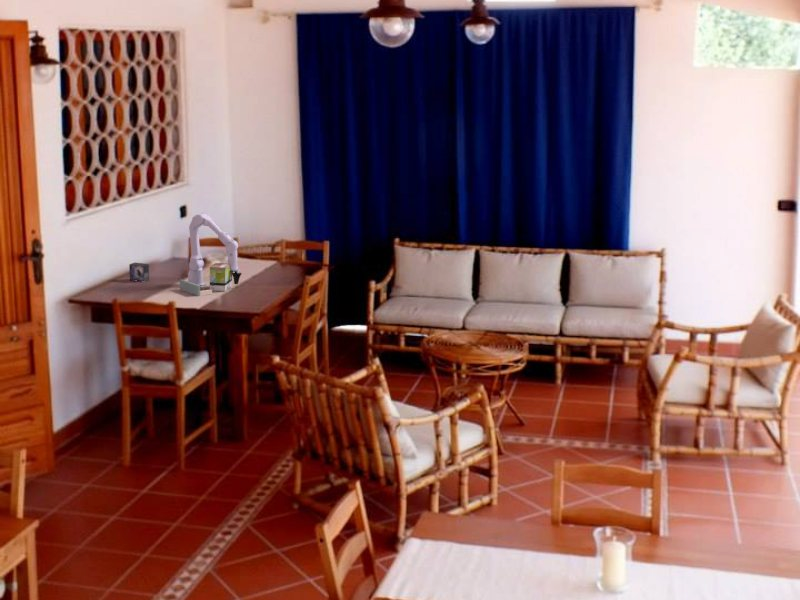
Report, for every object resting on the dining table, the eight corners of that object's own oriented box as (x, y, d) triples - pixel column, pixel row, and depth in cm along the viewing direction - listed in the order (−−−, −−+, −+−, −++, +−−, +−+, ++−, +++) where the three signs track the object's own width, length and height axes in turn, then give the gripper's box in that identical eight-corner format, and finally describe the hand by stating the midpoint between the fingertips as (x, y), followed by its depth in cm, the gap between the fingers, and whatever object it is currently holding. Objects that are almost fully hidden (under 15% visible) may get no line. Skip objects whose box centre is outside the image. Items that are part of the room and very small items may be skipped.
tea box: (225, 291, 693) (225, 267, 690) (209, 291, 694) (208, 266, 691) (232, 286, 707) (231, 262, 704) (215, 286, 708) (215, 262, 705)
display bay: (179, 289, 697) (179, 279, 696) (193, 287, 703) (193, 277, 701) (198, 296, 680) (197, 285, 679) (212, 294, 685) (211, 284, 684)
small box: (129, 280, 720) (128, 264, 718) (135, 278, 726) (134, 262, 724) (143, 282, 716) (143, 265, 714) (149, 280, 722) (149, 263, 720)
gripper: (244, 262, 700) (244, 284, 703) (232, 258, 711) (232, 280, 714) (234, 263, 696) (234, 285, 699) (222, 259, 707) (222, 281, 710)
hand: (232, 283), depth 706 cm, fingers open, 7 cm apart
